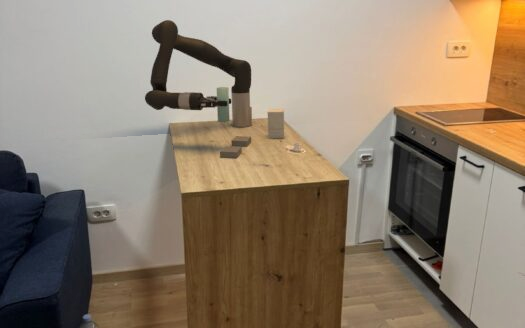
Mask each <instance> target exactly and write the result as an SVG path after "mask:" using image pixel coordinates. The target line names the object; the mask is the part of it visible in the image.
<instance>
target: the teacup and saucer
mask: <svg viewBox="0 0 525 328" xmlns="http://www.w3.org/2000/svg"><path fill="white" fill-rule="evenodd" d="M285 149H286V151H287V153H288V154H291V155H292V154H293V155H301V154H305V153H306V152H307V150H305V148H302V144H301V142H300V141H293V142H292V145H286V147H285ZM302 150H304V152H303V151H302ZM292 151H293V152H292ZM300 151H302V152H300Z"/></svg>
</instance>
